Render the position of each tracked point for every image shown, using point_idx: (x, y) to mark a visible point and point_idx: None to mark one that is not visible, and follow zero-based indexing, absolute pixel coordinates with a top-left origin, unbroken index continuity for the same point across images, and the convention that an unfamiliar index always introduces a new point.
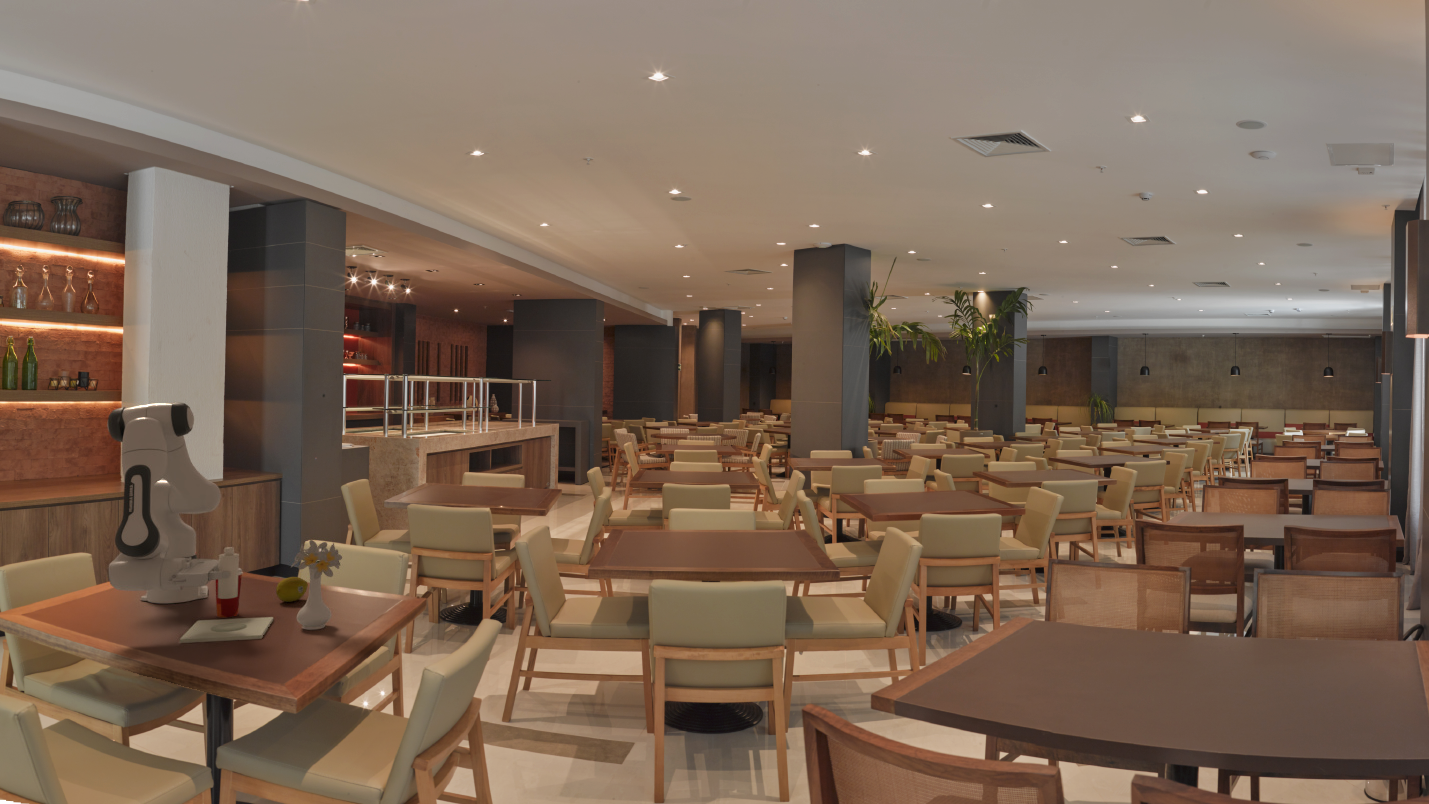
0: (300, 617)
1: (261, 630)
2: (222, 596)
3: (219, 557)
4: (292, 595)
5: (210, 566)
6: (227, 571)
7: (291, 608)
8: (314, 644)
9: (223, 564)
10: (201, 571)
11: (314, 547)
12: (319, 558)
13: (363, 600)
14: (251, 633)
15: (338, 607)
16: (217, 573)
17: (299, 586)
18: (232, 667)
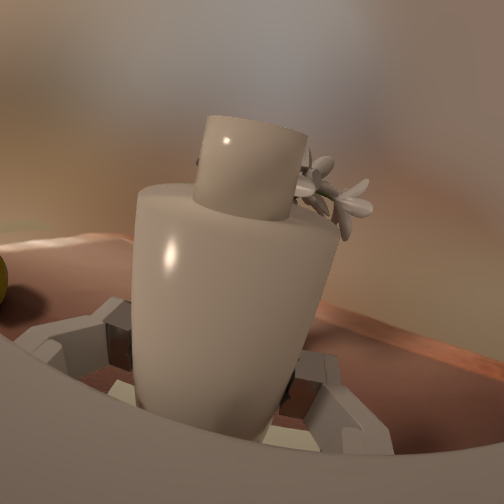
0: None
1: (267, 431)
2: None
3: (285, 266)
4: (4, 292)
5: (170, 446)
6: (319, 356)
7: (37, 324)
8: (369, 362)
9: (310, 324)
10: (489, 488)
11: (310, 153)
12: (315, 184)
13: (85, 255)
14: None
15: (100, 283)
16: (366, 417)
17: (4, 266)
18: None
